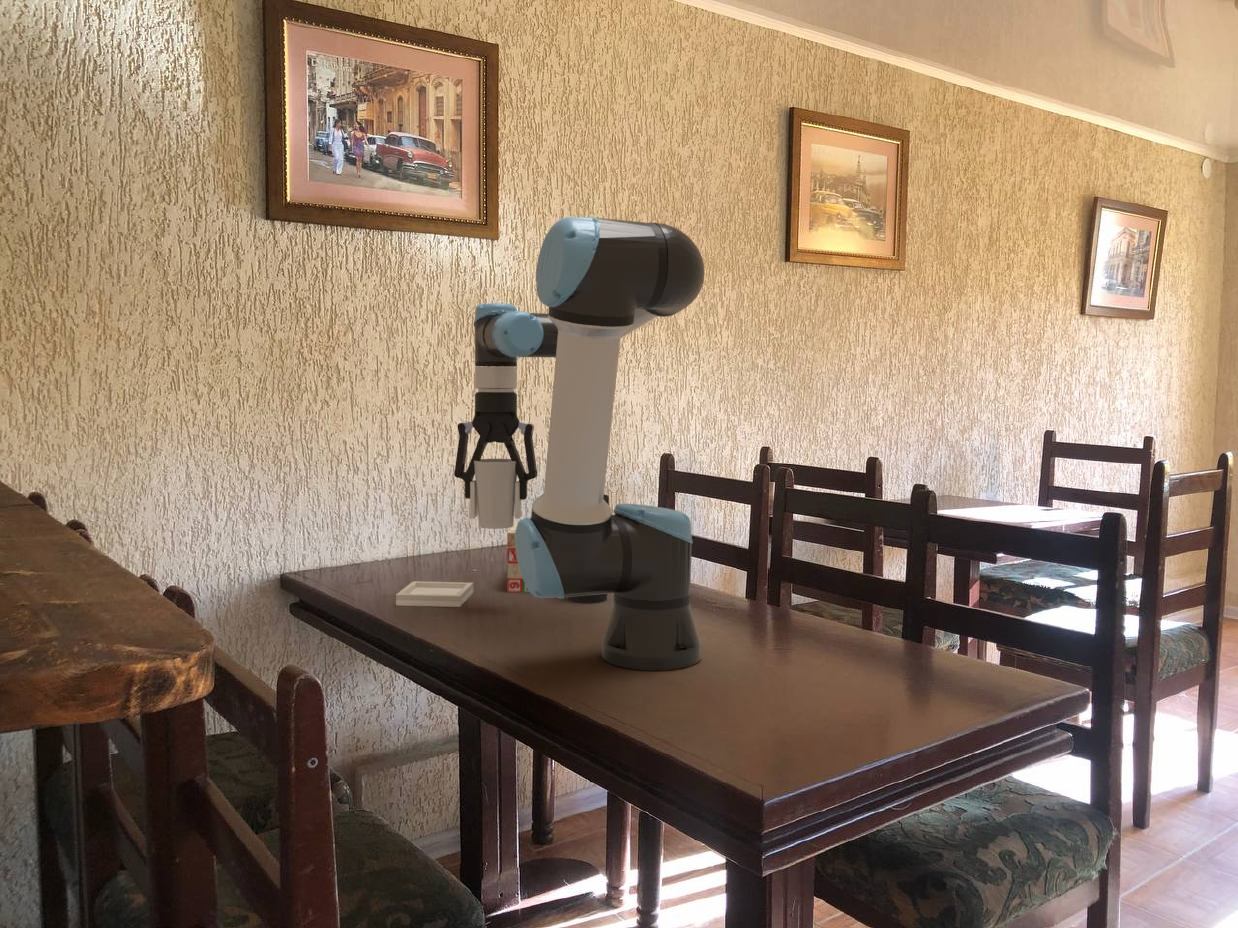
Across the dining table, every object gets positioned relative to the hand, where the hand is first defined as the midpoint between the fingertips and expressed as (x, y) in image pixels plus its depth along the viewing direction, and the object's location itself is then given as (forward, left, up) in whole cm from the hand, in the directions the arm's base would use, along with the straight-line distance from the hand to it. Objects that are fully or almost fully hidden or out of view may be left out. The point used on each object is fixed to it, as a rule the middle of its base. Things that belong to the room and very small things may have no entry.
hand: (496, 516), depth 179 cm
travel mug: (+10, -16, -17) cm, 26 cm away
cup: (0, 0, -2) cm, 2 cm away
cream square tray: (+7, +13, -17) cm, 22 cm away
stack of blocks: (+25, -2, -17) cm, 30 cm away
